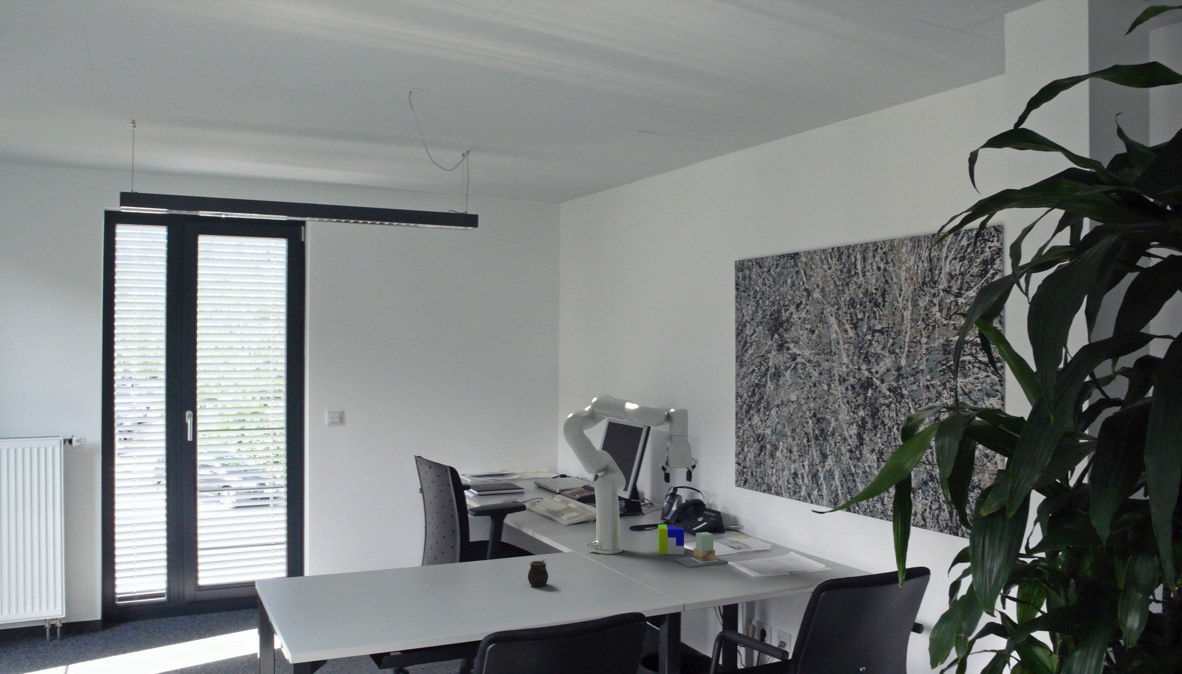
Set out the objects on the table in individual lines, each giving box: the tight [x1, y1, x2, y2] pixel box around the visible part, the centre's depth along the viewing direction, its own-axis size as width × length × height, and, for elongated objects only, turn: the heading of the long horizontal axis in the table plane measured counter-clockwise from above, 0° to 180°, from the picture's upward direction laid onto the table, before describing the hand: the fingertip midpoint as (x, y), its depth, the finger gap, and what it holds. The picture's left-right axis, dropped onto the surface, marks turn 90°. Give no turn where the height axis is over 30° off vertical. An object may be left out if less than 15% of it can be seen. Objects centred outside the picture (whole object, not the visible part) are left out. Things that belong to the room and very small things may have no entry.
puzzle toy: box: [657, 523, 685, 555], centre depth 360 cm, size 10×10×10 cm
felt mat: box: [674, 555, 729, 569], centre depth 342 cm, size 17×12×1 cm
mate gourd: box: [527, 559, 549, 588], centre depth 308 cm, size 7×8×10 cm
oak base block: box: [693, 547, 716, 562], centre depth 342 cm, size 6×6×4 cm
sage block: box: [695, 531, 714, 551], centre depth 342 cm, size 5×5×6 cm
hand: (678, 481), depth 350 cm, fingers open, 9 cm apart
